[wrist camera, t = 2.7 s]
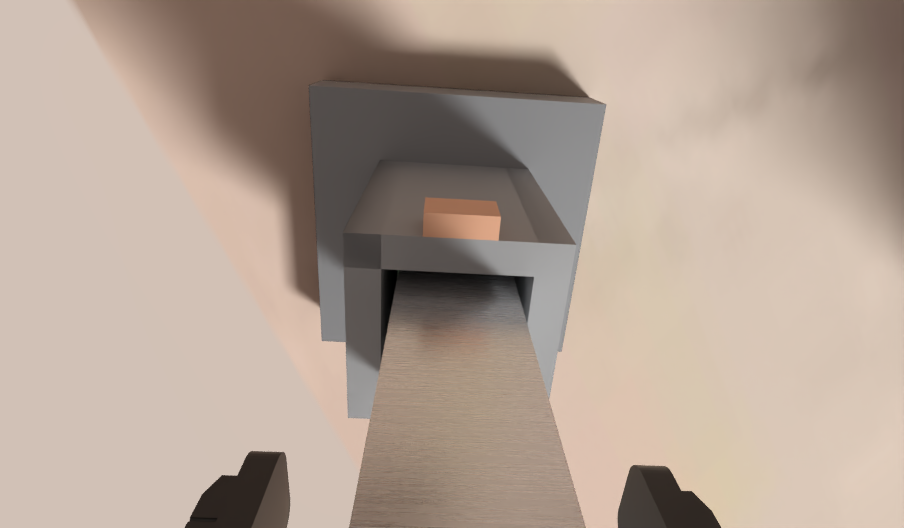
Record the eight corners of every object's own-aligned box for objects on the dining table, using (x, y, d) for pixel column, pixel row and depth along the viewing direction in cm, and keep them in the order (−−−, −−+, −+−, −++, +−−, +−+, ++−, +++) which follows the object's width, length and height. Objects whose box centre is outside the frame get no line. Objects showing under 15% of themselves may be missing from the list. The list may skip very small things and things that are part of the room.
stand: (322, 80, 26) (222, 117, 14) (589, 97, 27) (705, 147, 15) (332, 314, 32) (266, 479, 20) (551, 325, 32) (613, 491, 21)
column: (409, 192, 25) (320, 591, 7) (496, 197, 26) (625, 600, 7) (406, 271, 27) (331, 750, 9) (488, 275, 27) (575, 754, 9)
